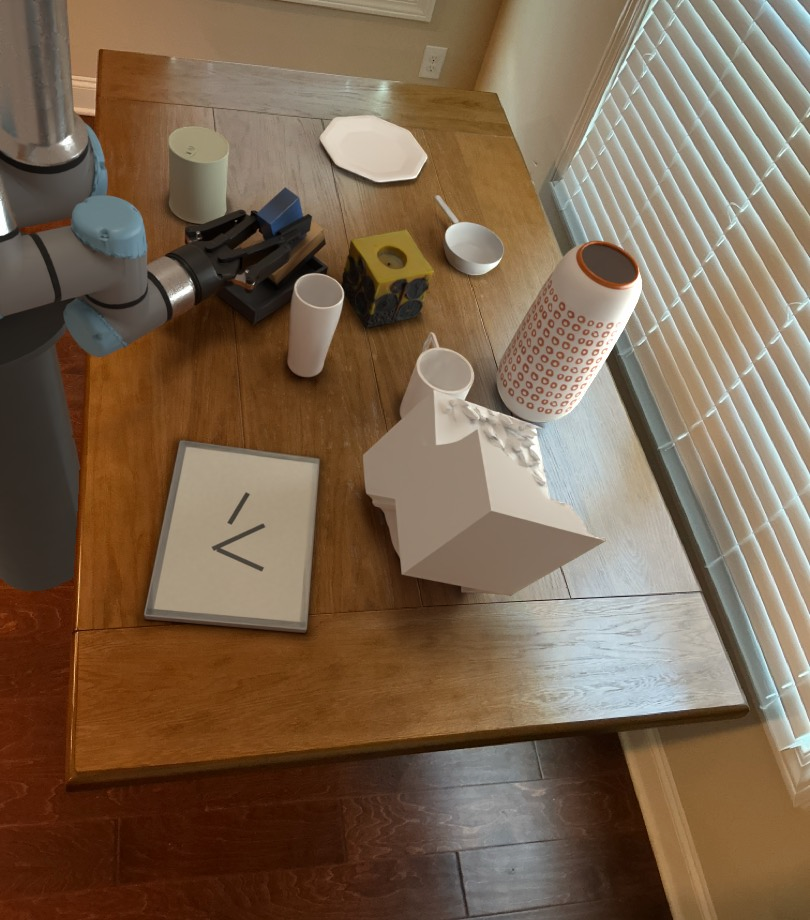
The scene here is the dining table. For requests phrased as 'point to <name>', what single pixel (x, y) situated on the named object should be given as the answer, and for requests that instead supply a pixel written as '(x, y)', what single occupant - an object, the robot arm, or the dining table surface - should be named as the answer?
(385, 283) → the candle
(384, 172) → the plate
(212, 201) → the can
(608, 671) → the dining table surface
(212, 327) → the dining table surface
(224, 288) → the tray
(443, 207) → the small pan
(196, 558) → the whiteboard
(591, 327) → the patterned vase
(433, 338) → the cup
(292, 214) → the blue block with base
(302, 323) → the drinking glass
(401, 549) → the tissue box
